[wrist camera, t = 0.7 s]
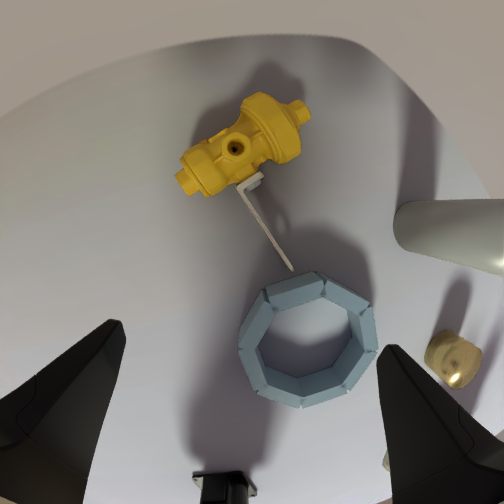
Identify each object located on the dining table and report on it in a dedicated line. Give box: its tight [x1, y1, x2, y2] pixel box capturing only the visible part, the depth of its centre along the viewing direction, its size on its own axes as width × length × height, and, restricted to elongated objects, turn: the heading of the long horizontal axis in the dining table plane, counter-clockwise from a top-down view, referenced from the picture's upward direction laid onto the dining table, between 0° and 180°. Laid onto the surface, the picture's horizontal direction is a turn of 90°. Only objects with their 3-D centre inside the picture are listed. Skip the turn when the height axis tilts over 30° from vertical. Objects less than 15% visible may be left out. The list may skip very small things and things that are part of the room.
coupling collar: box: [237, 271, 378, 408], centre depth 21 cm, size 10×10×3 cm
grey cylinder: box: [393, 199, 504, 277], centre depth 15 cm, size 4×4×12 cm
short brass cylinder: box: [424, 330, 482, 390], centre depth 21 cm, size 5×5×5 cm
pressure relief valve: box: [175, 91, 311, 272], centre depth 19 cm, size 6×12×10 cm
